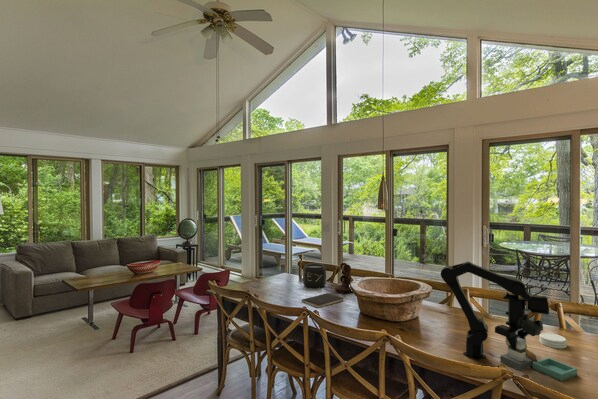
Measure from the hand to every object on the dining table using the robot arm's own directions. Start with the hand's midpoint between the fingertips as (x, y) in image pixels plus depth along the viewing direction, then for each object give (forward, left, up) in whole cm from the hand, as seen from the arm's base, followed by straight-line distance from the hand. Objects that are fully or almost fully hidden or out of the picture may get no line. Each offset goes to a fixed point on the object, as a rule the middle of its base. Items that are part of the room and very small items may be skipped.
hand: (516, 349), depth 134 cm
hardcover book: (-31, +106, -7) cm, 111 cm away
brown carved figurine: (-5, +120, -6) cm, 121 cm away
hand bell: (+12, +9, -2) cm, 15 cm away
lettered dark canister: (-19, +142, -6) cm, 143 cm away
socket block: (0, 0, -6) cm, 6 cm away
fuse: (0, 0, -4) cm, 4 cm away
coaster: (+34, +5, -6) cm, 35 cm away
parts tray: (+7, -10, -6) cm, 14 cm away
